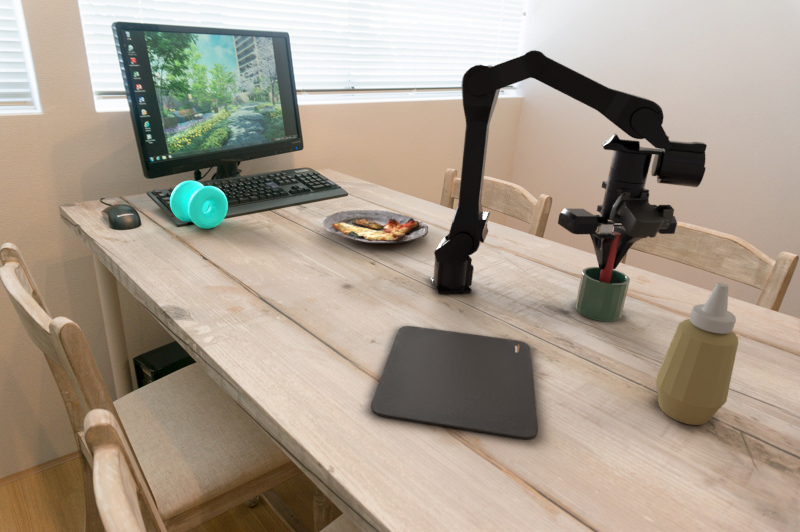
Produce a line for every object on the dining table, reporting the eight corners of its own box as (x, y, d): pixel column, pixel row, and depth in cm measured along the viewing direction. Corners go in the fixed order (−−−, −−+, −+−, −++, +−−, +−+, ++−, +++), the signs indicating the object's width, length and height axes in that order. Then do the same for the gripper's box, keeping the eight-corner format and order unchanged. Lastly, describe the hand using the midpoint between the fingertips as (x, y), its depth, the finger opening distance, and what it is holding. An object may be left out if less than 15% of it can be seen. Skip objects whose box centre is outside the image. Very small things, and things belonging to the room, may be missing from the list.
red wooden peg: (602, 284, 91) (613, 234, 88) (596, 279, 93) (607, 231, 90) (611, 283, 92) (623, 234, 88) (606, 279, 93) (617, 231, 90)
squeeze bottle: (637, 392, 72) (670, 270, 65) (693, 392, 72) (732, 271, 66) (670, 432, 64) (712, 299, 57) (732, 432, 65) (780, 300, 58)
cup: (589, 322, 90) (597, 285, 88) (567, 302, 97) (574, 267, 95) (630, 320, 92) (639, 284, 89) (605, 301, 99) (613, 266, 96)
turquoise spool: (206, 215, 133) (202, 176, 129) (231, 224, 128) (229, 184, 124) (169, 224, 125) (165, 182, 122) (195, 234, 120) (191, 191, 116)
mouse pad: (538, 441, 61) (539, 439, 61) (367, 414, 64) (367, 412, 64) (529, 343, 82) (529, 341, 82) (400, 326, 85) (400, 324, 85)
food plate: (444, 232, 130) (445, 219, 129) (392, 259, 112) (393, 243, 110) (362, 212, 142) (362, 200, 141) (303, 233, 124) (303, 219, 123)
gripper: (600, 191, 76) (580, 289, 82) (712, 192, 80) (685, 286, 86) (564, 174, 86) (549, 262, 92) (665, 176, 90) (644, 261, 96)
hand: (606, 268), depth 91 cm, fingers closed on red wooden peg, 2 cm apart
